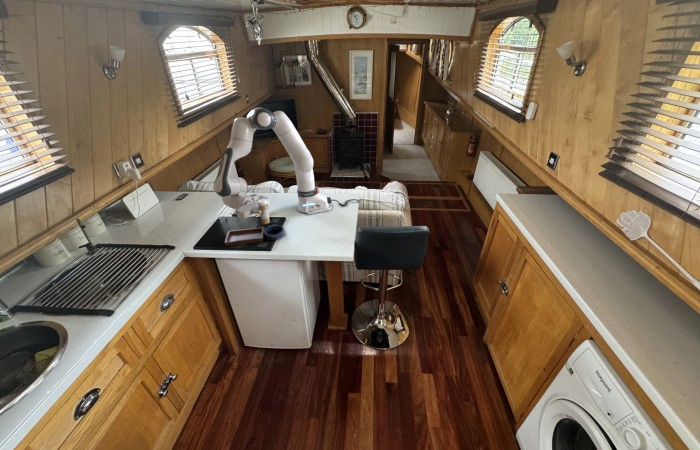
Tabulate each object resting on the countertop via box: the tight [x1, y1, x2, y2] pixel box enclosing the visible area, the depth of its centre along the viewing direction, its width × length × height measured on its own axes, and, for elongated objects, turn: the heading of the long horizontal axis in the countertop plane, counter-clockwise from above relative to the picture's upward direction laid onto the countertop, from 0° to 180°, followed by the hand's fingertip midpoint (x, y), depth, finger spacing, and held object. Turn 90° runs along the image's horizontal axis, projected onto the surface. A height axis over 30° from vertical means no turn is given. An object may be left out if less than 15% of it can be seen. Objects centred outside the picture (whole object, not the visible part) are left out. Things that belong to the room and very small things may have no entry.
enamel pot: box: [264, 223, 285, 241], centre depth 162 cm, size 11×14×3 cm
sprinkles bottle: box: [258, 199, 271, 225], centre depth 153 cm, size 5×5×14 cm
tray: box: [224, 226, 266, 247], centre depth 159 cm, size 20×12×2 cm, turn 100°
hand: (264, 210), depth 152 cm, fingers closed on sprinkles bottle, 4 cm apart
